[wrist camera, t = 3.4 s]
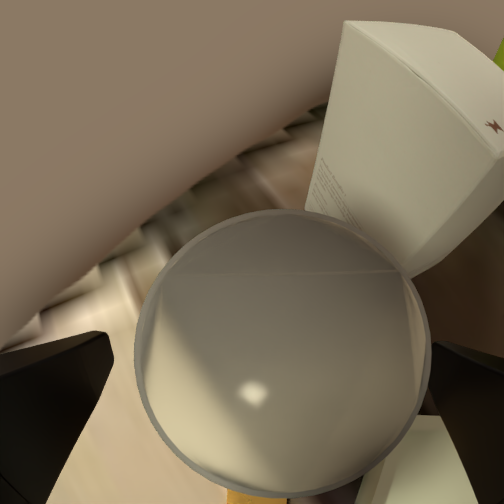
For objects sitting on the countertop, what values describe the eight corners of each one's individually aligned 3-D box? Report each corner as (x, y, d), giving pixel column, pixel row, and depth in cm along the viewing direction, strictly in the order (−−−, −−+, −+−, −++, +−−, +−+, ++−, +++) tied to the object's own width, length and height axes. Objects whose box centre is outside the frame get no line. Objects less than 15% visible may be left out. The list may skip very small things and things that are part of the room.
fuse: (295, 429, 14) (397, 507, 3) (208, 409, 14) (101, 444, 4) (315, 346, 16) (435, 243, 5) (231, 327, 16) (190, 186, 5)
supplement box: (443, 262, 18) (566, 135, 6) (355, 309, 17) (499, 158, 5) (387, 176, 21) (455, 28, 9) (300, 205, 20) (338, 14, 8)
